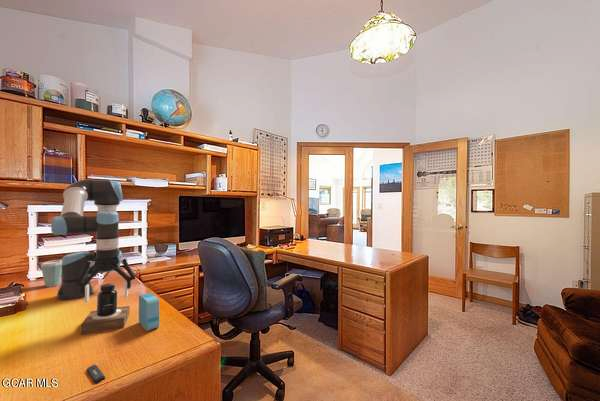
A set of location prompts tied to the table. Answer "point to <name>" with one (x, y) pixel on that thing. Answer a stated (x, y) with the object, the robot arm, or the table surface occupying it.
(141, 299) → the light-blue rounded block
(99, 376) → the usb stick
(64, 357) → the table surface
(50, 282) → the disposable coffee cup
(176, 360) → the table surface
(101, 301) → the supplement bottle
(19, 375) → the table surface
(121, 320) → the base
